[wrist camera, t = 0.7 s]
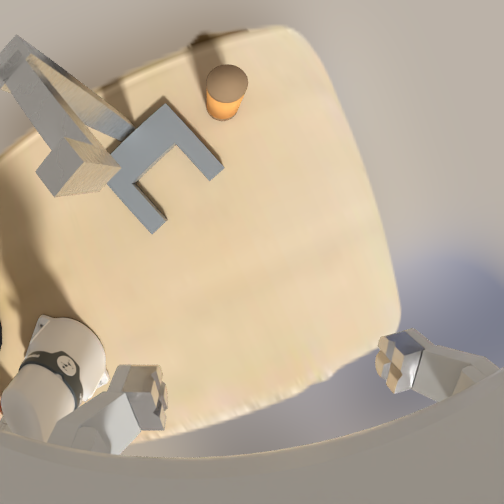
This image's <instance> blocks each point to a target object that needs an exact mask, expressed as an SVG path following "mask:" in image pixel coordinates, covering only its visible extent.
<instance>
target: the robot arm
mask: <svg viewBox="0 0 504 504" xmlns="http://www.w3.org/2000/svg"><path fill="white" fill-rule="evenodd" d="M41 324H42V325H43V326H42V325H41ZM378 347H379V349H380V351H379V353H378V354H377V355H376V361H375V365H376V370H377V372H378V374H379V376H380V377H381V378H384V379H386V380H387V382H386V385H387V386H388V387H389V388H390V390H391V391H392V392H393V393H394V394H396V393H399V392H402V391H406V390H409V389H412V390H414V391H416V392H418V393H420V394H422V395H424V396H426V397H428V398H431V399H432V400H434V401H436V402H437V403H436V404H433V405H431V406H428V407H426V408H424V409H422V410H419V411H417V412H414V413H412V414H409V415H407V416H404V417H401V418H399V419H396V420H393V421H390V422H388V423H385V424H382V425H379V426H376V427H373V428H370V429H366V430H363V431H359V432H356V433H353V434H349V435H345V436H341V437H338V438H334V439H330V440H326V441H321V442H317V443H312V444H307V445H302V446H298V447H292V448H287V449H280V450H274V451H268V452H260V453H252V454H243V455H233V456H219V457H199V458H161V457H141V456H128V455H120V454H121V453H122V452H123V450H124V449H125V448H126V447H127V446H128V445H129V444H130V443H131V442H132V441H133V440H134V439H135V438H136V437H137V435H138V434H139V433H140V432H141V430H164V429H165V422H166V415H165V412H164V411H165V410H166V409H167V408H168V393H167V388H166V384H165V383H164V382H163V381H162V376H163V373H162V370H161V367H160V366H159V365H119V366H118V367H117V369H116V371H115V374H114V376H113V378H112V381H111V383H110V385H109V388H108V390H107V392H102V393H100V394H99V395H97V396H96V397H94V398H93V399H91V400H90V401H88V402H86V403H85V404H83V405H82V406H80V404H81V403H82V401H87V400H88V398H91V397H92V396H93V394H94V392H95V390H96V388H98V387H100V386H102V385H105V384H106V383H108V381H109V379H110V378H109V374H108V372H107V370H106V357H105V352H104V349H103V346H102V344H101V342H100V341H99V339H98V338H97V336H96V335H95V334H94V333H93V332H92V331H91V330H90V329H89V328H88V327H86V326H85V325H84V324H82V323H80V322H78V321H76V320H74V319H70V318H52V317H49V316H46V315H41V316H40V317H39V319H38V321H37V324H36V327H35V329H34V332H33V335H32V338H31V341H30V344H29V347H28V350H27V353H26V356H25V359H24V361H23V362H22V364H21V366H20V368H19V371H18V373H17V375H16V376H15V377H14V378H13V380H12V381H11V382H10V383H9V385H8V386H7V387H6V389H5V390H4V391H3V394H2V397H1V408H2V412H3V415H4V418H5V420H6V422H7V424H8V426H9V428H10V429H11V431H12V432H13V433H11V432H8V431H5V430H2V429H0V504H504V367H503V368H501V369H499V368H498V367H497V366H496V365H495V364H493V363H492V362H491V361H489V360H488V359H487V358H486V357H483V356H478V355H475V354H471V353H467V352H463V351H458V350H455V349H451V348H447V347H443V346H439V345H437V346H435V345H434V344H433V343H431V342H430V341H429V340H427V338H425V337H424V336H423V335H422V334H421V333H419V332H418V331H417V330H416V329H413V328H411V329H408V330H404V331H402V332H398V333H394V334H390V335H387V336H382V337H381V338H380V340H379V343H378ZM79 406H80V407H79Z"/></svg>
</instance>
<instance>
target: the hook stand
mask: <svg viewBox="0 0 504 504" xmlns="http://www.w3.org/2000/svg"><path fill="white" fill-rule="evenodd" d="M0 89H1V90H3V91H6V92H8V93H11V94H12V95H13V96H14V98H15V99H16V101H17V102H18V104H19V105H20V107H21V108H22V110H23V111H24V112H25V114H26V116H27V117H28V118H29V120H30V121H31V123H32V124H33V126H34V127H35V128H36V130H37V131H38V132H39V134H40V135H41V137H42V138H43V139H44V141H45V142H46V143H47V145H48V146H49V147H50V149H51V150H52V151H51V152H50V154H49V155H48V156H47V157H46V159H45V160H44V161H43V162H42V164H41V165H40V166H39V168H38V169H37V170H36V173H37V175H38V176H39V178H40V179H41V180H42V182H43V183H44V184H45V186H46V187H47V188H48V189H49V191H50V192H51V193H52V195H53V196H54V197H60V196H68V195H76V194H84V193H93V192H99V191H100V190H101V189H102V188H103V187H104V186H105V185H106V184H107V182H108V181H109V180H110V179H111V178H112V177H113V176H114V175H115V174H116V173H117V172H118V171H119V170H120V169H121V166H120V165H119V164H118V163H117V162H116V161H115V160H114V158H113V157H112V156H111V155H110V154H109V153H108V151H107V150H106V149H105V148H104V147H103V146H102V144H101V143H100V142H99V141H98V140H97V139H96V137H95V136H94V135H93V134H92V133H91V131H90V130H89V129H88V128H87V127H86V125H87V126H89V127H91V128H93V129H95V130H98V131H100V132H102V133H104V134H106V135H109V136H111V137H113V138H115V139H117V140H119V141H122V142H123V141H124V140H125V139H126V138H127V137H128V136H130V135H131V134H132V133H133V132H134V131H135V130H136V128H135V127H134V125H133V124H132V123H131V122H130V121H129V120H128V119H127V118H126V117H125V116H124V115H123V114H121V113H120V112H119V111H118V110H116V109H115V108H114V107H112V106H111V105H110V104H109V103H107V102H106V101H105V100H103V99H102V98H101V97H100V96H98V95H97V94H96V93H94V92H93V91H92V90H91V89H89V88H88V87H87V86H85V85H84V84H83V83H81V82H80V81H79V80H77V79H76V78H75V77H73V76H72V75H71V74H69V73H68V72H67V71H66V70H64V69H63V68H62V67H60V66H59V65H58V64H56V63H55V62H54V61H52V60H51V59H50V58H48V57H47V56H45V55H44V54H43V53H41V52H40V51H39V50H37V49H36V48H35V47H33V46H32V45H30V44H29V43H28V42H26V41H25V40H24V39H22V38H21V37H19V36H18V35H16V36H15V37H14V38H13V39H12V40H11V41H10V42H9V43H8V45H7V46H6V47H5V48H4V49H3V50H2V52H1V53H0Z"/></svg>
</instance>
